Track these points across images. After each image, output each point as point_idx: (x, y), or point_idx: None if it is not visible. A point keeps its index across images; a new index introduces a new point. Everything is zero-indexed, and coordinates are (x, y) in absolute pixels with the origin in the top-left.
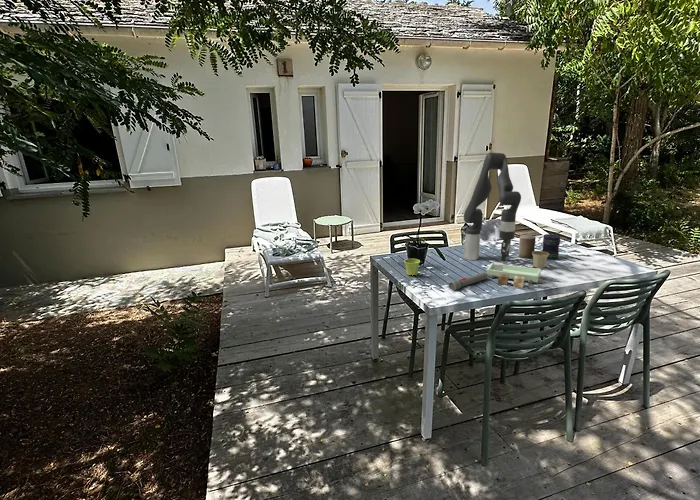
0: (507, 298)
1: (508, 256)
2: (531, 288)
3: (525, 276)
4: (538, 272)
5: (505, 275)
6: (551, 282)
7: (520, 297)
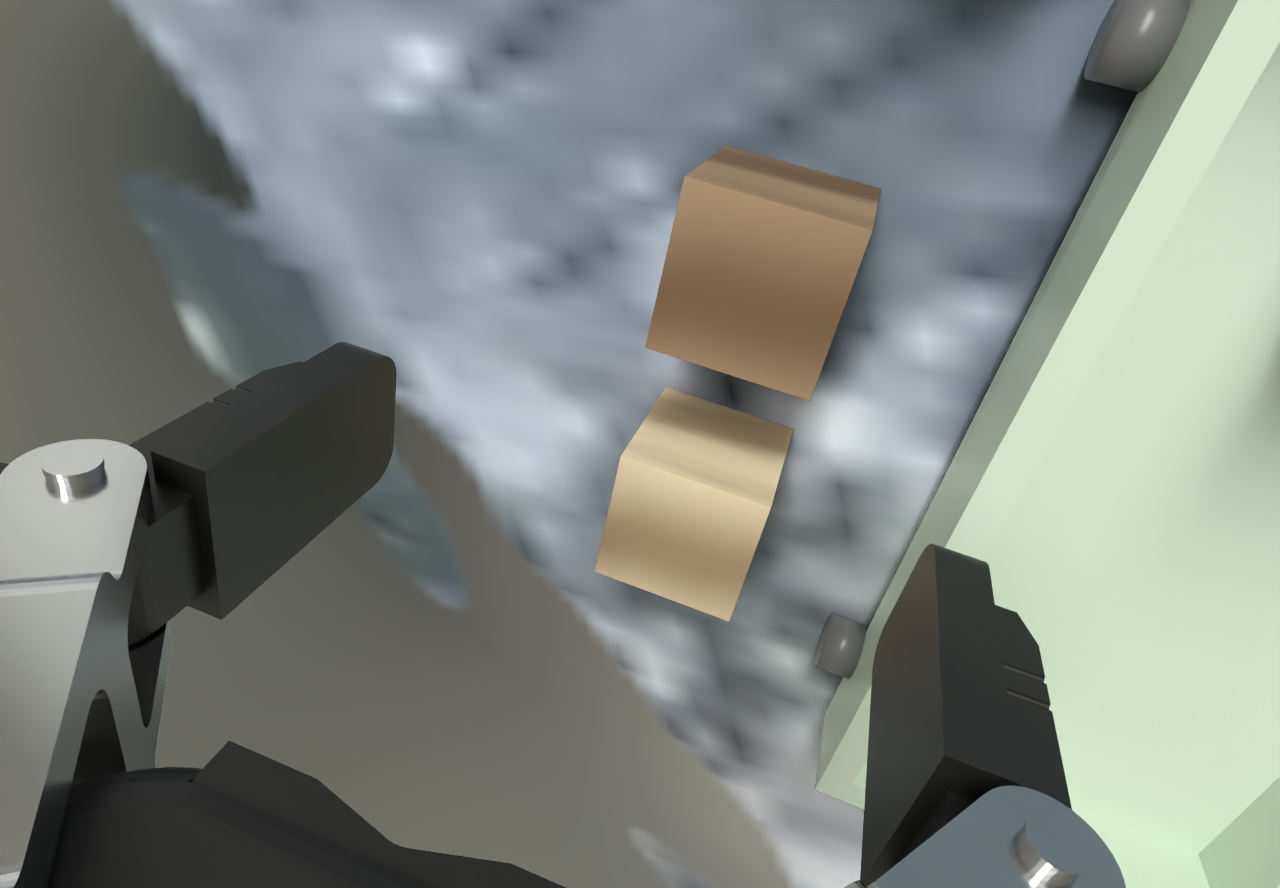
0: (223, 241)
1: (873, 664)
2: None
3: None
4: None
5: (748, 332)
6: None
7: None
